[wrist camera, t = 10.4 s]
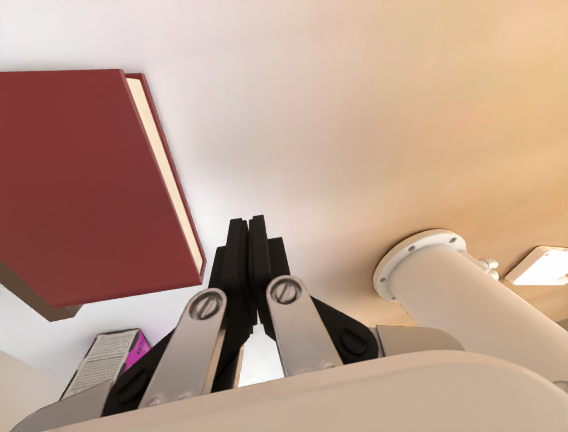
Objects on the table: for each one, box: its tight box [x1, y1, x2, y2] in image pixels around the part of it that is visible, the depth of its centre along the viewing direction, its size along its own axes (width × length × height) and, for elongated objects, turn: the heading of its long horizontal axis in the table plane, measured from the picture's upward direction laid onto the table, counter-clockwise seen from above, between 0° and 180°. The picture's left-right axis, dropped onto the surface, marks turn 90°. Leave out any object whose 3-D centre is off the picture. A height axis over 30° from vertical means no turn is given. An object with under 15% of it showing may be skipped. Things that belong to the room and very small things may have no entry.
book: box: [0, 69, 207, 309], centre depth 15 cm, size 12×16×3 cm
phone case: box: [505, 246, 568, 285], centre depth 34 cm, size 7×1×15 cm
